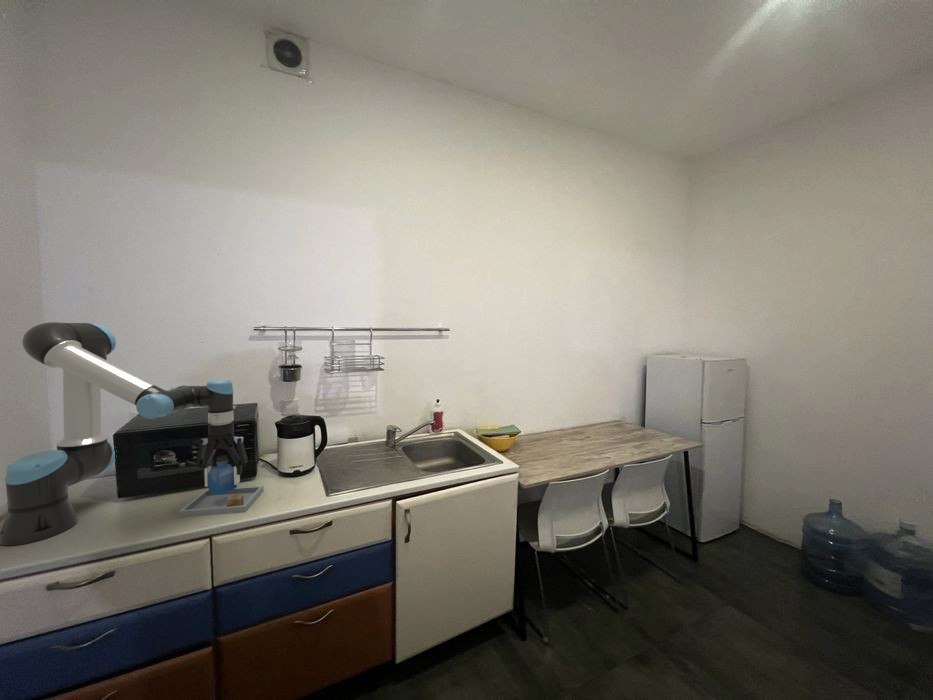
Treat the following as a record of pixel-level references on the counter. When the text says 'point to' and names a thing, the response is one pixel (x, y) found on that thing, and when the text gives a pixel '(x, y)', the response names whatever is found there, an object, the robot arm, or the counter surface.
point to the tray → (220, 502)
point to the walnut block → (235, 500)
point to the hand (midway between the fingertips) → (222, 484)
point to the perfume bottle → (221, 476)
